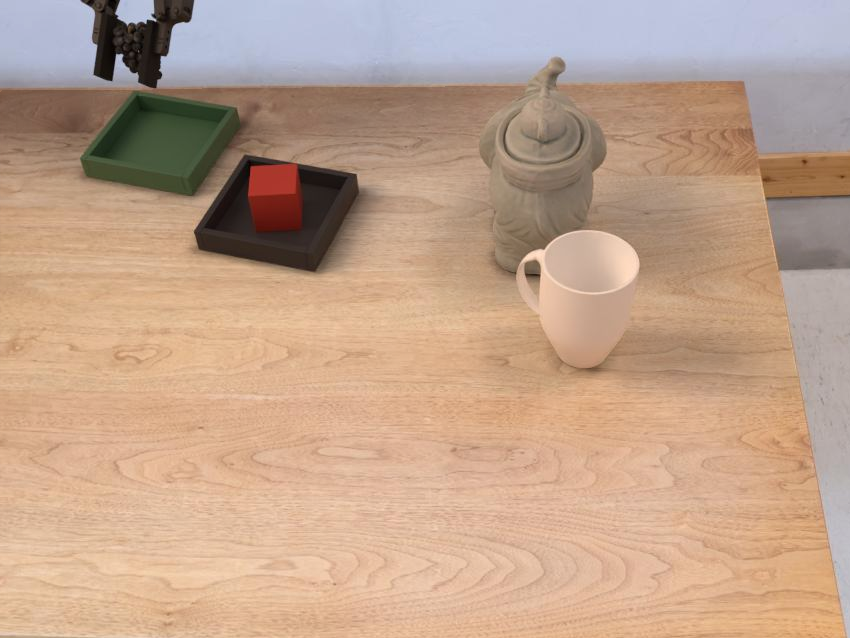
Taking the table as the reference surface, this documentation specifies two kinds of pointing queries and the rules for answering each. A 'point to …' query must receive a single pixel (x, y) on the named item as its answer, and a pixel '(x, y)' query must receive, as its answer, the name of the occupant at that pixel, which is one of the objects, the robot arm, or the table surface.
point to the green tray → (161, 142)
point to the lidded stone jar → (539, 168)
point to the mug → (583, 293)
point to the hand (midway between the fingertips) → (125, 81)
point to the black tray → (302, 249)
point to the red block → (275, 197)
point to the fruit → (130, 44)
